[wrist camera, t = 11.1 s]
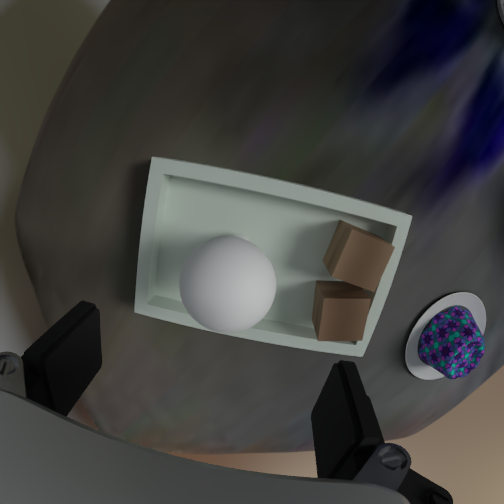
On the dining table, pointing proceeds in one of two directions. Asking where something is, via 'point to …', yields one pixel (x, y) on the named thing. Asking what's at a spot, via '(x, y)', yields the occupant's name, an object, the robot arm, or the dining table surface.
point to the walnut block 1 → (357, 256)
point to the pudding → (448, 338)
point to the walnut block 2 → (339, 311)
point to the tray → (262, 235)
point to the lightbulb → (227, 284)
